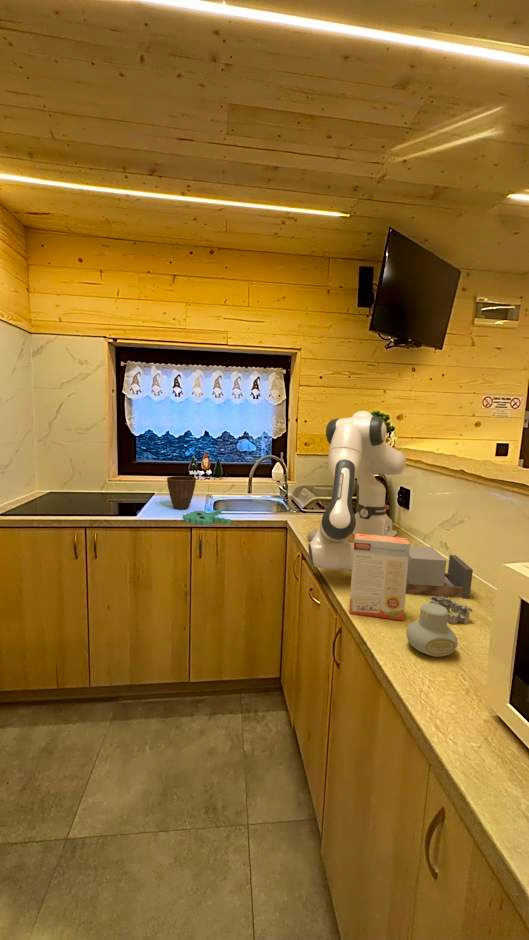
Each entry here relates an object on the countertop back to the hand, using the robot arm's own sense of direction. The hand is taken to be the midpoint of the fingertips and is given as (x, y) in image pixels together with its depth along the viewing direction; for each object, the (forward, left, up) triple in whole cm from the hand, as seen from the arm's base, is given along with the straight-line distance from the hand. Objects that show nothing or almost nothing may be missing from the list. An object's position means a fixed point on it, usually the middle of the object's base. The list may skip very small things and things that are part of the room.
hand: (405, 560), depth 133 cm
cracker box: (+23, +4, -9) cm, 25 cm away
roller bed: (-5, +6, -8) cm, 11 cm away
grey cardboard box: (-3, +4, -5) cm, 7 cm away
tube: (-13, -37, -9) cm, 40 cm away
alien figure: (-2, -101, -9) cm, 101 cm away
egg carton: (+9, +17, -9) cm, 22 cm away
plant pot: (-6, -126, -9) cm, 126 cm away
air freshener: (+30, +21, -9) cm, 38 cm away
